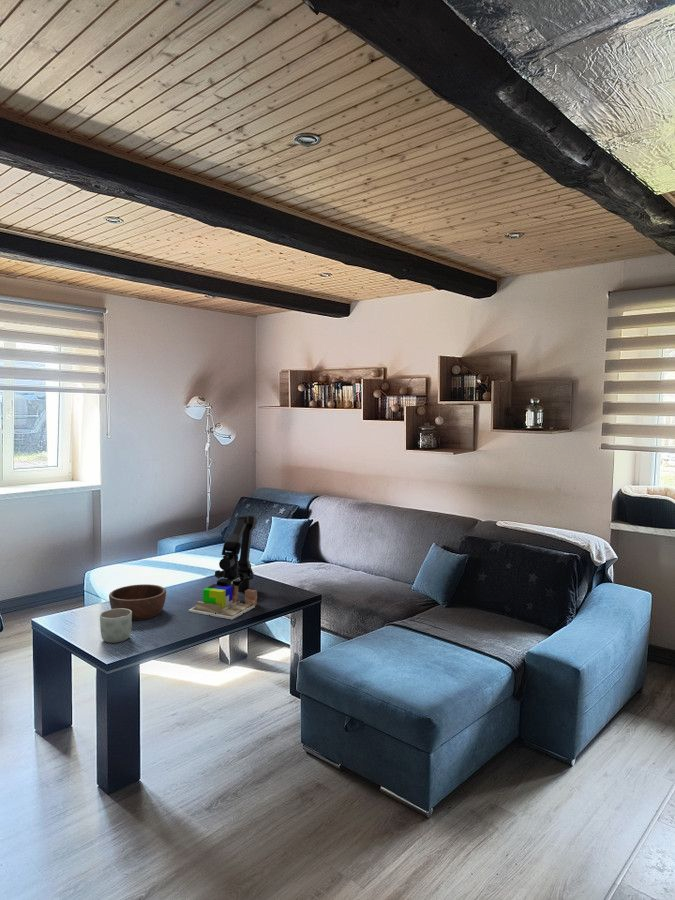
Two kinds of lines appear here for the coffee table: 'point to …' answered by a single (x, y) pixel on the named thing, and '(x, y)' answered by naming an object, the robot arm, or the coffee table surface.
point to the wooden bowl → (139, 600)
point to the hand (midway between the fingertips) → (232, 596)
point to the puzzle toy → (218, 595)
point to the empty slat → (249, 601)
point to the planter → (116, 625)
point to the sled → (217, 608)
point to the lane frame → (221, 613)
